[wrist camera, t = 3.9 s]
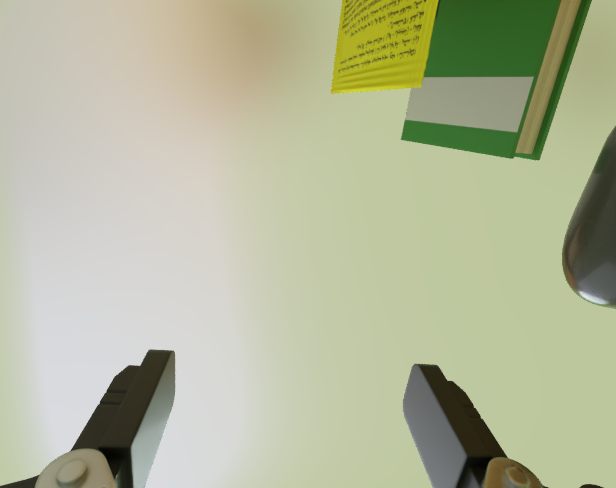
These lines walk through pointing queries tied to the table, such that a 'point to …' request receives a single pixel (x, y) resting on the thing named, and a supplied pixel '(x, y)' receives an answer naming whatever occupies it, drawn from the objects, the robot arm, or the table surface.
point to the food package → (382, 44)
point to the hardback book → (495, 75)
